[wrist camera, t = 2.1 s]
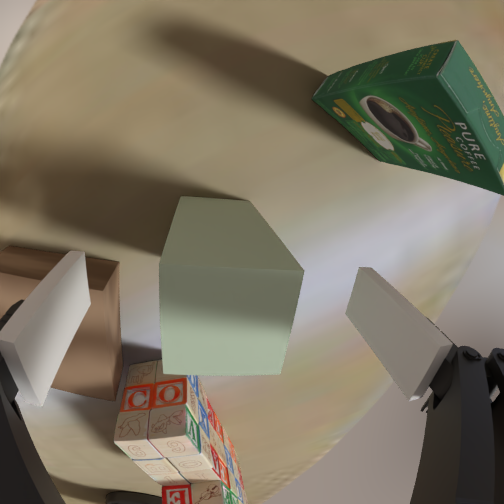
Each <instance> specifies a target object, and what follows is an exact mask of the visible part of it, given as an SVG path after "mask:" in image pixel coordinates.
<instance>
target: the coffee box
mask: <svg viewBox="0 0 504 504" xmlns="http://www.w3.org/2000/svg"><path fill="white" fill-rule="evenodd" d="M312 100H313V101H314V102H316V103H317V104H318V105H319V106H320V107H322V108H323V109H324V110H325V111H326V112H327V113H328V114H329V115H331V116H332V117H333V118H335V119H336V120H337V121H338V122H339V123H341V124H342V125H343V126H344V127H345V128H346V129H347V130H348V131H349V132H350V133H351V134H352V135H353V136H355V137H356V138H357V139H358V140H359V141H360V142H361V143H362V144H363V145H364V146H365V147H366V148H367V149H368V150H369V151H370V152H371V153H372V154H373V155H374V156H375V157H376V158H377V159H378V160H379V161H381V162H385V163H389V164H394V165H398V166H403V167H407V168H411V169H415V170H420V171H424V172H428V173H432V174H436V175H440V176H443V177H447V178H451V179H454V180H457V181H461V182H464V183H467V184H470V185H474V186H477V187H480V188H483V189H486V190H489V191H492V192H495V193H498V194H501V195H504V116H503V114H502V112H501V110H500V108H499V106H498V104H497V102H496V100H495V98H494V97H493V95H492V93H491V91H490V89H489V88H488V86H487V84H486V82H485V81H484V79H483V77H482V76H481V74H480V73H479V71H478V69H477V68H476V66H475V65H474V63H473V62H472V60H471V59H470V57H469V56H468V54H467V53H466V51H465V50H464V48H463V47H462V46H461V44H460V43H459V41H458V40H453V41H448V42H443V43H438V44H433V45H429V46H424V47H420V48H415V49H411V50H407V51H403V52H400V53H396V54H392V55H388V56H385V57H381V58H378V59H375V60H372V61H369V62H365V63H362V64H359V65H356V66H352V67H350V68H348V69H345V70H342V71H338V72H336V73H334V74H332V75H330V76H328V77H327V78H326V79H325V80H324V82H323V83H322V84H321V86H320V87H319V88H318V90H317V91H316V92H315V93H314V95H313V97H312Z"/></svg>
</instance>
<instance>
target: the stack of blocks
mask: <svg viewBox="0 0 504 504" xmlns="http://www.w3.org/2000/svg"><path fill="white" fill-rule="evenodd" d="M114 443H115V444H116V445H117V446H118V447H119V448H120V449H121V450H122V451H123V452H124V453H125V454H126V455H127V456H129V457H130V458H131V459H132V461H133V462H134V463H135V464H136V465H137V466H139V467H140V468H141V469H142V470H143V471H144V472H145V473H147V474H148V475H149V476H150V477H151V478H152V479H153V480H155V481H156V482H157V483H158V484H160V485H162V504H248V502H247V498H246V493H245V491H244V486H243V481H242V476H241V468H240V464H239V459H238V456H237V454H236V452H235V450H234V447H233V445H232V443H231V441H230V439H229V438H228V436H227V433H226V432H225V430H224V428H223V426H222V425H221V424H220V422H219V420H218V418H217V416H216V414H215V412H213V409H212V407H211V405H210V403H209V401H208V399H207V395H206V393H205V391H204V389H203V386H202V384H201V382H200V380H199V378H198V377H197V375H176V374H163V363H162V360H158V361H150V362H145V363H138V364H133V365H130V367H129V370H128V375H127V380H126V385H125V388H124V392H123V397H122V402H121V408H120V413H119V414H118V417H117V423H116V428H115V434H114Z"/></svg>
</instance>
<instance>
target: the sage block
mask: <svg viewBox="0 0 504 504" xmlns="http://www.w3.org/2000/svg"><path fill="white" fill-rule="evenodd" d="M303 275H304V270H303V268H302V267H301V266H300V264H299V263H298V262H297V261H296V259H295V258H294V257H293V255H292V254H291V253H290V251H289V250H288V249H287V248H286V246H285V245H284V244H283V242H282V241H281V240H280V239H279V237H278V236H277V235H276V233H275V232H274V231H273V230H272V228H271V227H270V226H269V224H268V223H267V222H266V221H265V219H264V218H263V217H262V216H261V214H260V213H259V212H258V210H257V209H256V208H255V207H254V205H253V204H252V203H251V202H250V201H242V200H231V199H218V198H204V197H190V196H181V197H180V200H179V203H178V206H177V209H176V212H175V215H174V218H173V221H172V224H171V227H170V230H169V233H168V236H167V240H166V243H165V246H164V249H163V253H162V256H161V259H160V263H159V299H160V329H161V348H162V363H163V374H176V375H203V376H246V375H274V374H280V373H281V369H282V365H283V361H284V358H285V354H286V350H287V345H288V341H289V337H290V333H291V329H292V325H293V320H294V316H295V312H296V307H297V303H298V298H299V294H300V289H301V285H302V280H303Z"/></svg>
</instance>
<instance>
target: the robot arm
mask: <svg viewBox="0 0 504 504" xmlns="http://www.w3.org/2000/svg"><path fill="white" fill-rule="evenodd" d="M90 305H91V302H90V295H89V288H88V280H87V271H86V261H85V251H69V252H68V253H67V254H66V255H65V256H64V257H63V258H62V260H61V261H60V262H59V263H58V264H57V265H56V266H55V267H54V268H53V269H52V270H51V271H50V272H49V273H48V274H47V276H46V277H45V278H44V279H43V280H42V281H41V282H40V283H39V284H38V286H37V287H36V288H35V289H34V290H33V291H32V292H31V294H30V295H29V296H28V297H27V298H26V300H22V299H21V300H20V301H18V302H16V303H15V304H13V305H12V306H11V307H10V308H9V309H8V310H7V312H6V313H5V315H3V317H2V318H1V319H0V504H66V503H65V502H64V500H63V499H62V497H61V495H60V494H59V492H58V490H57V489H56V487H55V485H54V483H53V482H52V480H51V478H50V476H49V474H48V472H47V470H46V469H45V467H44V465H43V463H42V461H41V459H40V457H39V455H38V452H37V450H36V448H35V446H34V444H33V441H32V439H31V437H30V434H29V432H28V430H27V427H26V425H25V422H24V420H23V417H22V414H21V412H20V409H19V406H18V404H17V402H16V400H15V396H16V394H17V392H18V391H19V393H20V395H21V397H22V398H23V400H24V402H26V403H29V404H33V405H36V406H40V407H42V406H43V404H44V401H45V399H46V396H47V394H48V392H49V389H50V387H51V384H52V382H53V380H54V378H55V375H56V373H57V371H58V369H59V366H60V364H61V362H62V360H63V358H64V356H65V354H66V351H67V349H68V347H69V345H70V343H71V341H72V339H73V337H74V335H75V333H76V331H77V329H78V327H79V325H80V323H81V322H82V320H83V318H84V316H85V314H86V312H87V310H88V308H89V307H90ZM345 314H346V315H347V316H348V318H349V319H350V320H351V322H352V323H353V324H354V326H355V327H356V328H357V330H358V331H359V332H360V334H361V335H362V336H363V338H364V339H365V341H366V342H367V343H368V345H369V346H370V347H371V349H372V350H373V351H374V353H375V354H376V356H377V357H378V358H379V360H380V361H381V363H382V364H383V365H384V367H385V368H386V370H387V371H388V372H389V374H390V375H391V377H392V378H393V379H394V381H395V382H396V384H397V385H398V386H399V388H400V389H401V391H402V392H403V394H404V395H405V396H406V398H407V399H408V401H411V400H414V399H418V398H421V397H422V396H423V395H424V393H425V392H426V390H427V389H428V387H430V388H431V389H432V390H433V392H432V393H431V395H430V396H429V398H428V399H427V401H426V402H425V404H424V405H423V407H422V409H421V411H423V410H424V409H425V408H426V407H428V410H427V411H426V413H427V421H426V428H425V435H424V442H423V448H422V453H421V459H420V464H419V468H418V473H417V478H416V482H415V486H414V490H413V494H412V498H411V501H410V504H504V349H500V348H494V349H493V350H492V352H491V353H490V355H489V357H488V358H483V357H482V356H481V355H480V354H479V353H478V352H477V351H476V350H474V349H473V348H470V347H468V346H460V347H459V348H458V347H457V346H456V345H455V344H454V343H453V342H452V341H451V340H450V339H449V338H448V337H447V336H446V335H445V334H444V333H443V332H442V331H440V330H439V328H438V327H437V326H435V324H433V323H432V322H431V321H430V320H429V319H428V318H427V317H425V316H424V315H423V314H422V313H421V312H420V311H419V310H418V309H417V308H416V307H414V306H413V305H412V304H411V303H410V302H409V301H408V300H407V299H406V298H405V297H404V296H403V295H401V294H400V293H399V292H398V291H397V290H396V289H395V288H394V287H393V286H391V285H390V284H389V283H388V282H387V281H386V280H385V279H384V278H383V277H381V276H380V275H379V274H378V273H377V272H376V271H375V270H373V269H372V268H368V267H359V269H358V273H357V277H356V280H355V284H354V287H353V290H352V294H351V297H350V300H349V304H348V307H347V310H346V313H345ZM498 388H499V390H500V394H499V395H498V396H497V398H496V399H495V401H494V402H492V400H491V397H492V396H493V394H494V393H495V391H496V390H497V389H498ZM106 504H162V498H160V497H156V496H151V495H146V494H140V493H131V492H113V493H109V494H107V496H106Z"/></svg>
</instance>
